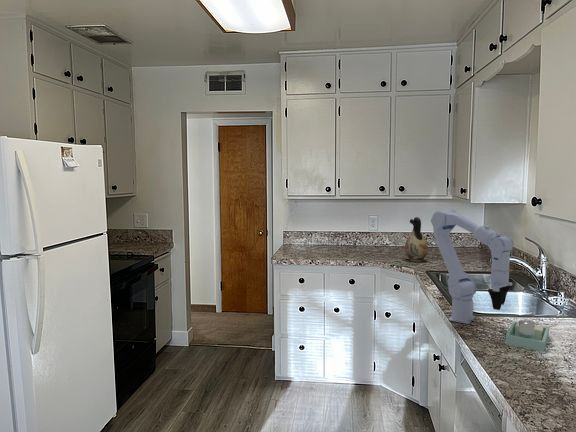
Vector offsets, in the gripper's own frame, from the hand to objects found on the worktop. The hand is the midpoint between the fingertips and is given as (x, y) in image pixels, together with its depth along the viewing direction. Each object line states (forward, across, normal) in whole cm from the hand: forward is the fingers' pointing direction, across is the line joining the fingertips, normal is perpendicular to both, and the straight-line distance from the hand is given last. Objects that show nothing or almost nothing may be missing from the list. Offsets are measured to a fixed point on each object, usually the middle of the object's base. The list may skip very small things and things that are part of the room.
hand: (498, 306), depth 151 cm
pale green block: (+8, -1, -10) cm, 13 cm away
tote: (+9, -5, -10) cm, 15 cm away
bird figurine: (+10, +112, +69) cm, 132 cm away
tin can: (+8, -8, -10) cm, 16 cm away
